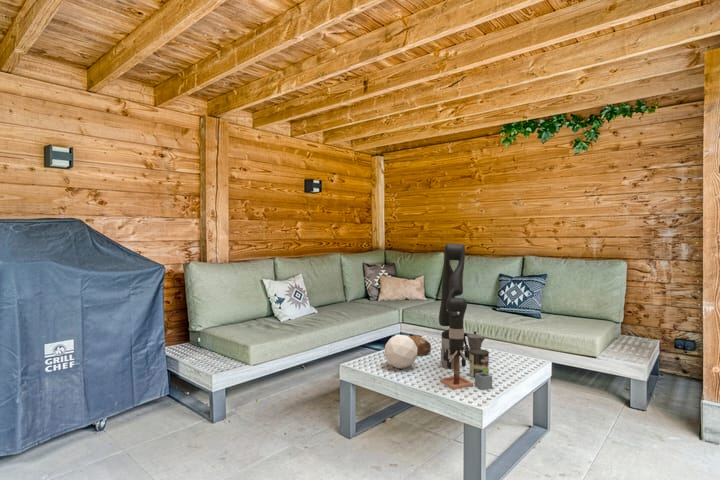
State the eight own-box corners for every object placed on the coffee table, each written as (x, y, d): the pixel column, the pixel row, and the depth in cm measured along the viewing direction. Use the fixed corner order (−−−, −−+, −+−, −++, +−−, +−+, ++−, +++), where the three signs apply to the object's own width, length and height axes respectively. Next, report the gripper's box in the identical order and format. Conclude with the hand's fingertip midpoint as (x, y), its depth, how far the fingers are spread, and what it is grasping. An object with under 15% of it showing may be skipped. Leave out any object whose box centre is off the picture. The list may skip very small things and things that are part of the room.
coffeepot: (488, 360, 256) (488, 331, 256) (480, 364, 249) (480, 334, 249) (466, 355, 267) (466, 327, 267) (458, 358, 260) (458, 330, 260)
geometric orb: (393, 380, 242) (372, 353, 242) (405, 359, 259) (385, 334, 258) (417, 370, 231) (396, 342, 231) (428, 349, 248) (408, 323, 247)
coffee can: (492, 377, 227) (492, 351, 227) (480, 381, 221) (480, 355, 221) (477, 372, 235) (477, 347, 235) (465, 376, 229) (465, 350, 229)
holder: (474, 387, 212) (474, 373, 212) (484, 385, 215) (484, 372, 215) (482, 391, 207) (482, 377, 207) (492, 389, 209) (492, 376, 209)
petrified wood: (434, 354, 268) (431, 340, 267) (416, 360, 265) (413, 346, 263) (420, 345, 287) (417, 332, 286) (403, 351, 283) (400, 337, 282)
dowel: (452, 382, 216) (452, 356, 216) (457, 382, 217) (457, 355, 217) (455, 384, 213) (455, 357, 213) (460, 384, 215) (460, 357, 214)
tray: (440, 383, 219) (440, 378, 219) (459, 379, 223) (459, 375, 223) (453, 391, 208) (453, 386, 208) (473, 387, 212) (473, 383, 212)
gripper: (463, 333, 221) (463, 363, 221) (440, 336, 216) (440, 367, 216) (472, 336, 214) (472, 368, 214) (448, 339, 209) (448, 371, 209)
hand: (456, 367), depth 215 cm, fingers open, 8 cm apart
